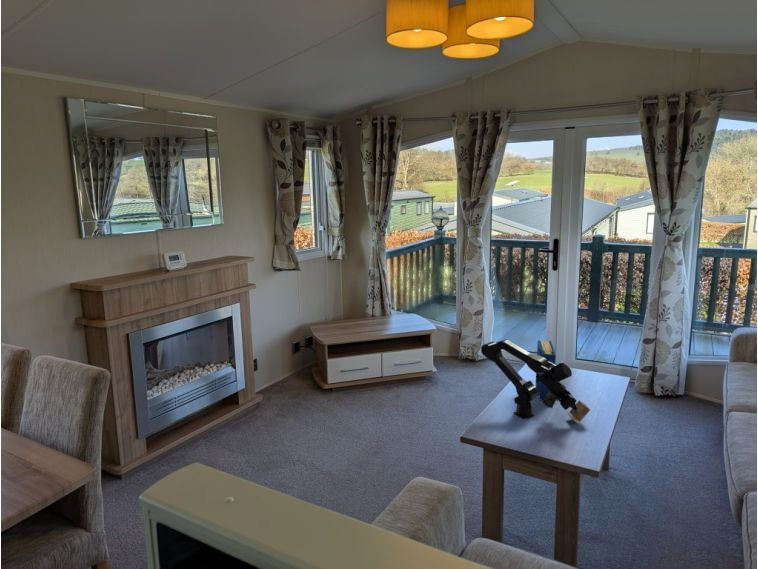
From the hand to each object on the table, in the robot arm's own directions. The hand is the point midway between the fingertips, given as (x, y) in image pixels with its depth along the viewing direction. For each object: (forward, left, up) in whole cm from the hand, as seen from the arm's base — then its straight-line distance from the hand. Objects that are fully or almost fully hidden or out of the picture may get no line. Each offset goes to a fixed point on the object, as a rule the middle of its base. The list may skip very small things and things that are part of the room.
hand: (575, 409), depth 230 cm
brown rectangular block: (-1, 0, -5) cm, 5 cm away
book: (-31, +12, -6) cm, 33 cm away
